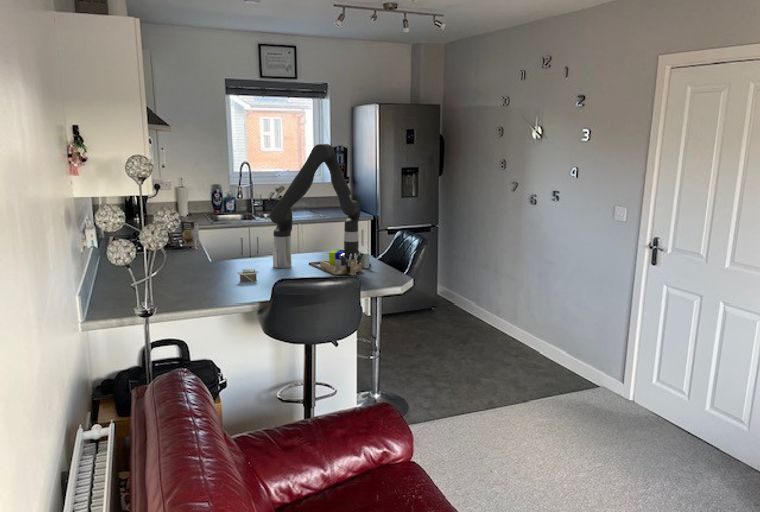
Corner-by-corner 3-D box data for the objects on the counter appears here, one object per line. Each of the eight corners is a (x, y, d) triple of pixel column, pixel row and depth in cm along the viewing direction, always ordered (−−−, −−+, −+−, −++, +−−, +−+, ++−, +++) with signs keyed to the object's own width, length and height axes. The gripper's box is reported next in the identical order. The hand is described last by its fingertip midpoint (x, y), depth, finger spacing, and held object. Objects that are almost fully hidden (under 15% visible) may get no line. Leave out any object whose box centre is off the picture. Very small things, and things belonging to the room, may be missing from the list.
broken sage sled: (359, 268, 304) (359, 254, 302) (340, 261, 322) (340, 247, 321) (373, 267, 309) (374, 252, 307) (354, 259, 327) (354, 246, 325)
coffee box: (181, 246, 362) (180, 221, 358) (186, 244, 368) (185, 219, 365) (195, 246, 360) (193, 221, 357) (199, 244, 367) (198, 220, 363)
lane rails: (323, 271, 298) (323, 269, 298) (308, 264, 314) (308, 262, 314) (371, 265, 313) (371, 263, 313) (354, 259, 329) (354, 257, 329)
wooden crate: (268, 284, 274) (268, 271, 272) (230, 286, 268) (230, 273, 266) (265, 278, 285) (265, 265, 283) (228, 280, 279) (228, 267, 277)
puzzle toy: (347, 272, 296) (347, 253, 294) (329, 271, 298) (329, 252, 296) (352, 268, 306) (352, 250, 304) (334, 267, 308) (334, 249, 306)
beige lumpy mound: (340, 277, 286) (340, 261, 284) (320, 268, 305) (320, 253, 303) (367, 273, 294) (367, 258, 292) (346, 264, 313) (346, 250, 312)
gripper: (342, 242, 282) (342, 275, 286) (366, 239, 289) (366, 272, 293) (335, 239, 288) (335, 272, 292) (359, 237, 295) (359, 269, 299)
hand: (351, 272), depth 292 cm, fingers closed on beige lumpy mound, 2 cm apart
